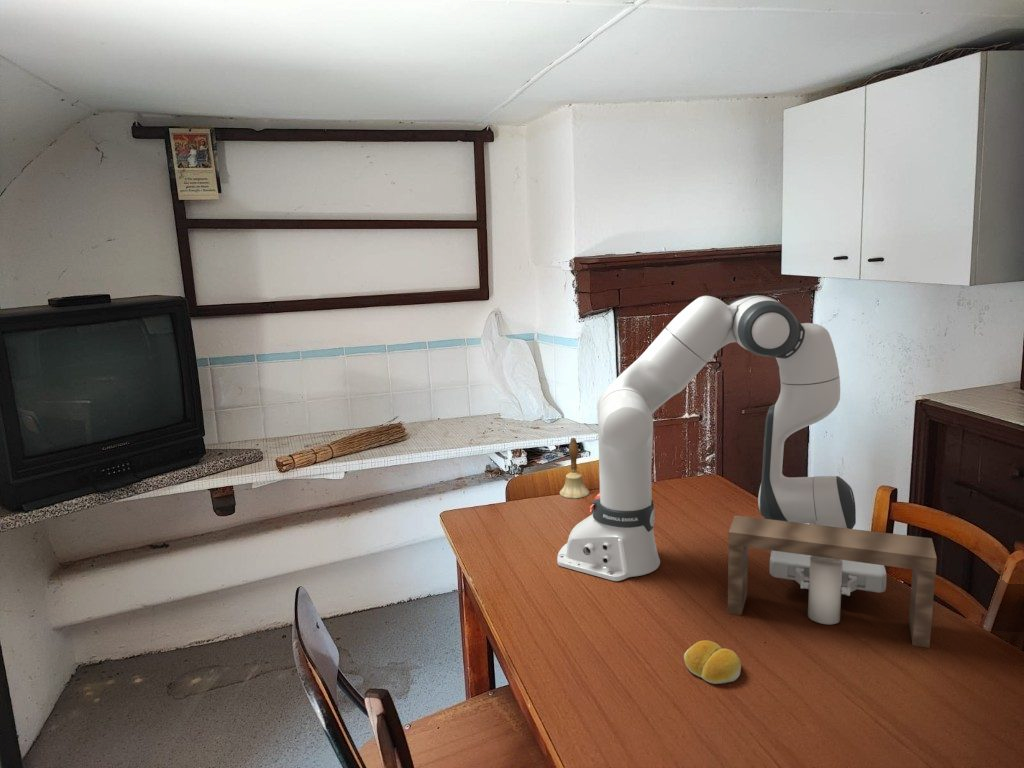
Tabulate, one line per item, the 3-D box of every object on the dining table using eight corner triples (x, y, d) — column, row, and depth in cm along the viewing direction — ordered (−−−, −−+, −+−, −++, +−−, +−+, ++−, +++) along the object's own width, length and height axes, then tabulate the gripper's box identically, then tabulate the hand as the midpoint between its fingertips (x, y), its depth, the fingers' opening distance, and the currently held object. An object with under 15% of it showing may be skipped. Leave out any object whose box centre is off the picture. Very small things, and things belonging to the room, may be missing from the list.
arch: (727, 613, 133) (728, 532, 130) (733, 592, 140) (734, 515, 137) (929, 648, 119) (936, 558, 116) (924, 623, 126) (931, 538, 123)
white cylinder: (807, 621, 128) (809, 563, 127) (808, 608, 133) (810, 552, 132) (839, 626, 126) (842, 568, 124) (840, 613, 131) (842, 557, 129)
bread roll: (723, 693, 111) (724, 670, 110) (676, 668, 118) (676, 647, 117) (752, 670, 116) (752, 648, 116) (705, 647, 123) (705, 627, 122)
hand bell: (569, 486, 202) (567, 432, 199) (594, 490, 198) (593, 436, 194) (554, 495, 196) (551, 440, 192) (580, 501, 191) (578, 444, 188)
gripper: (772, 534, 144) (765, 564, 132) (885, 548, 135) (888, 581, 123) (771, 562, 145) (764, 594, 133) (883, 578, 137) (886, 614, 125)
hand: (825, 588), depth 128 cm, fingers open, 5 cm apart
